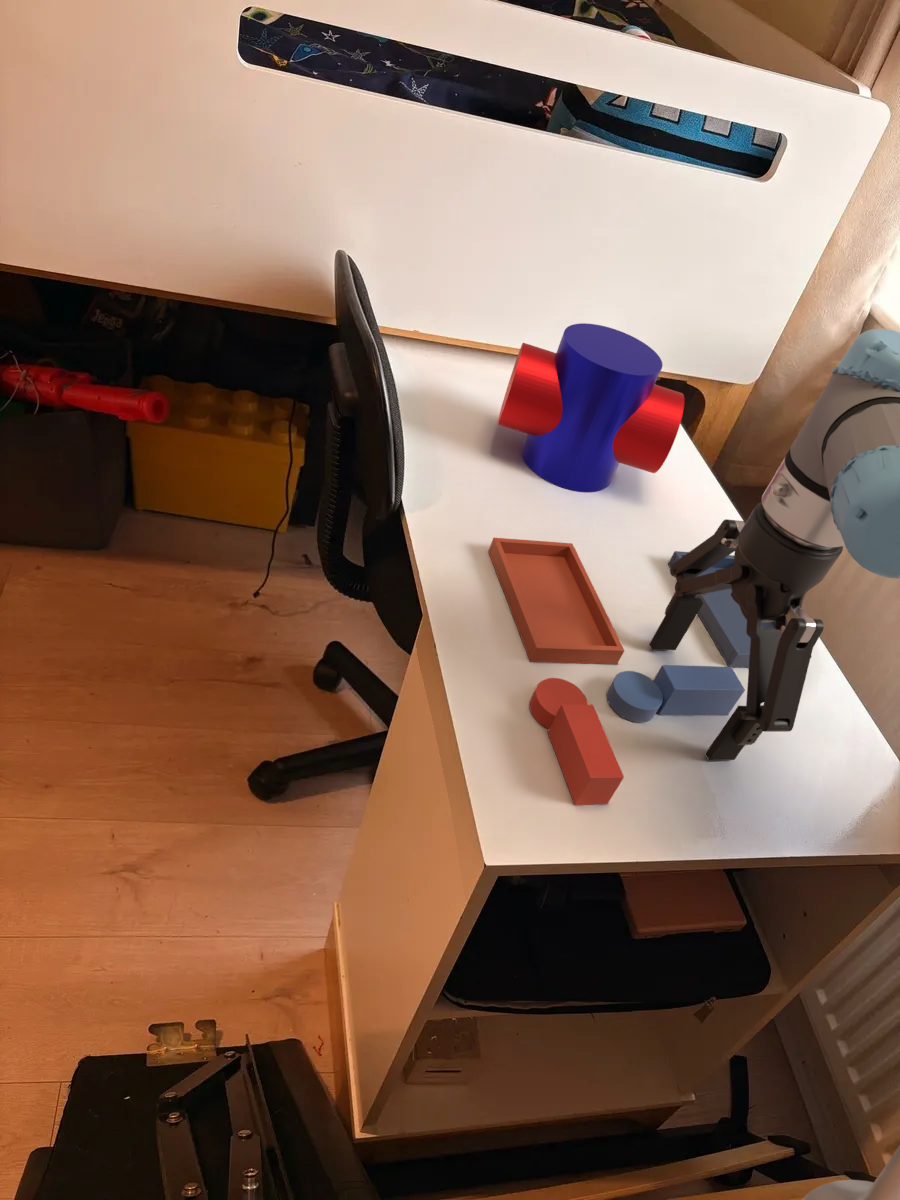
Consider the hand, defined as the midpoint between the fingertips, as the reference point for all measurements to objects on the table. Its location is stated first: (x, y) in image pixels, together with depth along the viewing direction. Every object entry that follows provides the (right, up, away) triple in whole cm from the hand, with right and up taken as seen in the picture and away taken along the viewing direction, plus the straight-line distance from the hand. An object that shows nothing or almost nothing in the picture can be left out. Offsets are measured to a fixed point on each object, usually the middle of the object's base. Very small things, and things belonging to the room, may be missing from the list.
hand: (689, 699), depth 85 cm
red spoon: (-12, -3, -8) cm, 15 cm away
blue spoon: (-2, 0, -1) cm, 2 cm away
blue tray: (+8, +8, +13) cm, 17 cm away
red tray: (-12, +9, +6) cm, 16 cm away
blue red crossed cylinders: (-8, +27, +29) cm, 40 cm away
